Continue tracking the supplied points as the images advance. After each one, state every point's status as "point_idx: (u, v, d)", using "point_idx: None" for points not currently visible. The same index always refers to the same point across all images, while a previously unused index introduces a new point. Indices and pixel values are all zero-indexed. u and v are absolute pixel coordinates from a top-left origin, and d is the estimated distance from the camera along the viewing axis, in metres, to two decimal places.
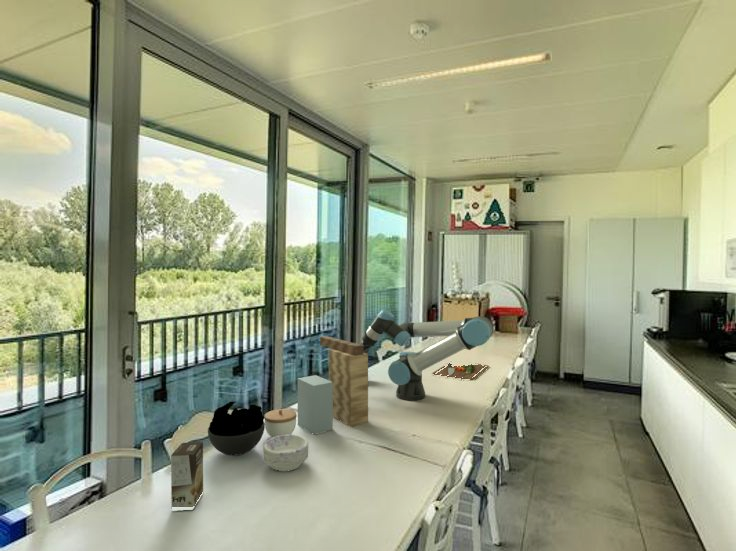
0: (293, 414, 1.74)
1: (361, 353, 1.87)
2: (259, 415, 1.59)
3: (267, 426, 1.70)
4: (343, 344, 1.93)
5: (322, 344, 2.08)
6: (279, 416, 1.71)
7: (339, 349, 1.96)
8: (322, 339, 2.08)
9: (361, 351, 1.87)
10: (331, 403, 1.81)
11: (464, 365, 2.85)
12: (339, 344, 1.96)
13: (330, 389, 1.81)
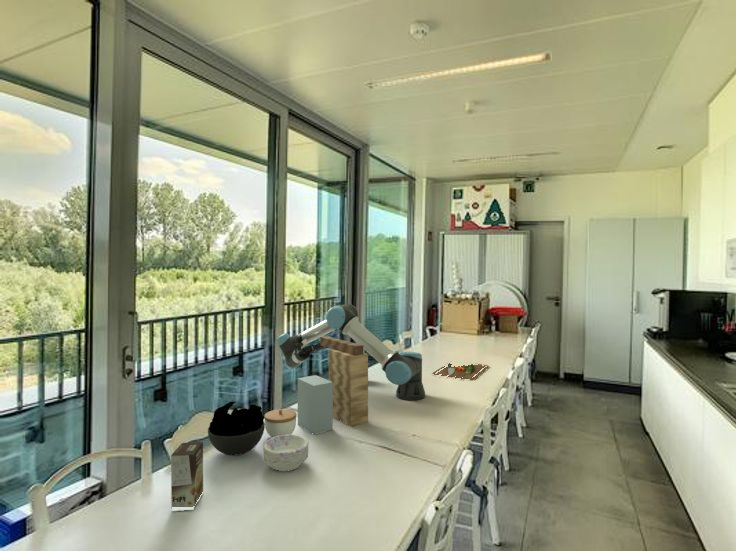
0: (293, 414, 1.74)
1: (361, 353, 1.87)
2: (259, 415, 1.59)
3: (267, 426, 1.70)
4: (343, 344, 1.93)
5: (322, 344, 2.08)
6: (279, 416, 1.71)
7: (339, 349, 1.96)
8: (322, 339, 2.08)
9: (361, 351, 1.87)
10: (331, 403, 1.81)
11: (464, 365, 2.85)
12: (339, 344, 1.96)
13: (330, 389, 1.81)
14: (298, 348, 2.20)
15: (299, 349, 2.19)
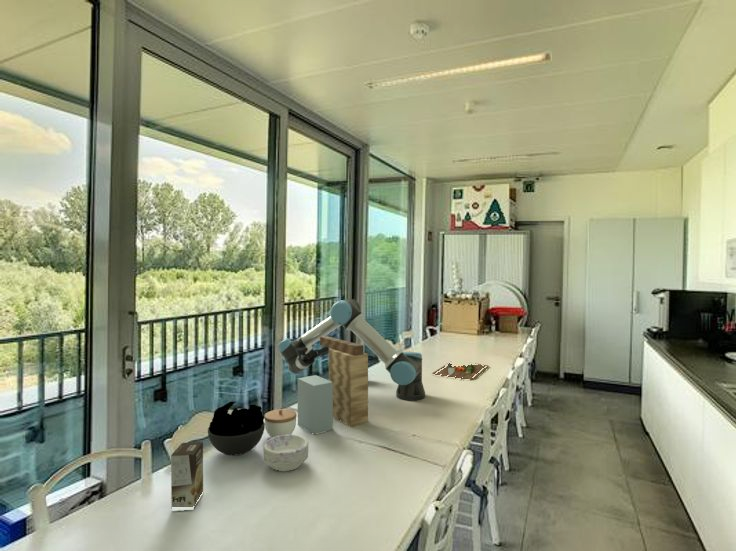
0: (293, 414, 1.74)
1: (361, 353, 1.87)
2: (259, 415, 1.59)
3: (267, 426, 1.70)
4: (343, 344, 1.93)
5: (322, 344, 2.08)
6: (279, 416, 1.71)
7: (339, 349, 1.96)
8: (322, 339, 2.08)
9: (361, 351, 1.87)
10: (331, 403, 1.81)
11: (464, 365, 2.85)
12: (339, 344, 1.96)
13: (330, 389, 1.81)
14: (302, 353, 2.10)
15: (303, 354, 2.09)
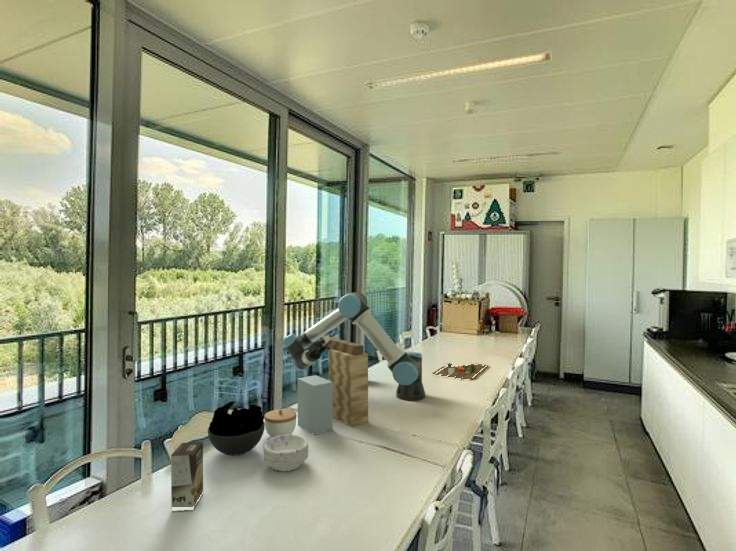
0: (293, 414, 1.74)
1: (361, 353, 1.87)
2: (259, 415, 1.59)
3: (267, 426, 1.70)
4: (343, 344, 1.93)
5: None
6: (279, 416, 1.71)
7: (339, 349, 1.96)
8: (322, 339, 2.08)
9: (361, 351, 1.87)
10: (331, 403, 1.81)
11: (464, 365, 2.85)
12: (339, 344, 1.96)
13: (330, 389, 1.81)
14: (320, 345, 2.06)
15: (321, 346, 2.06)
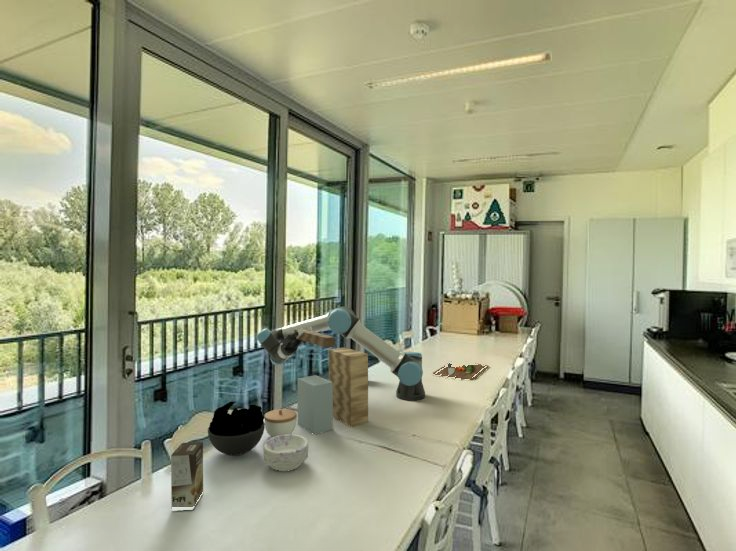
0: (293, 414, 1.74)
1: (332, 345, 1.80)
2: (259, 415, 1.59)
3: (267, 426, 1.70)
4: (315, 336, 1.86)
5: None
6: (279, 416, 1.71)
7: (311, 341, 1.89)
8: (296, 331, 2.01)
9: (332, 343, 1.80)
10: (331, 403, 1.81)
11: (464, 365, 2.85)
12: (311, 336, 1.89)
13: (330, 389, 1.81)
14: (294, 338, 1.99)
15: (295, 339, 1.99)
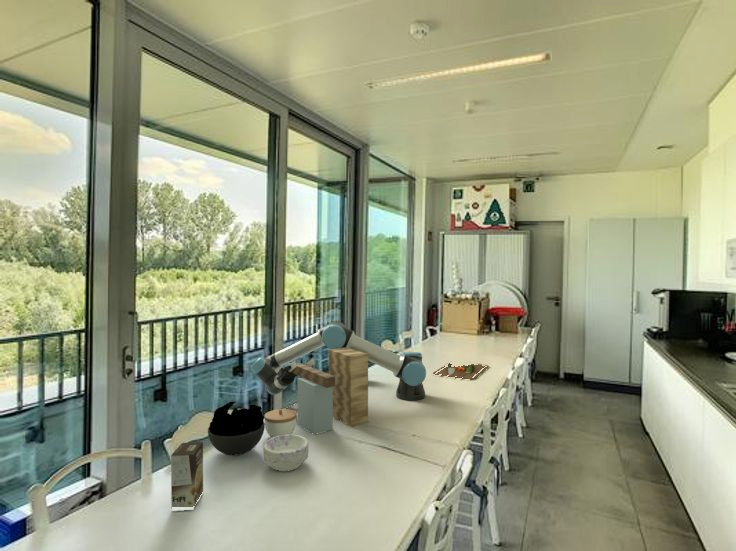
0: (293, 414, 1.74)
1: (332, 385, 1.74)
2: (259, 415, 1.59)
3: (267, 426, 1.70)
4: (314, 374, 1.80)
5: (294, 372, 1.95)
6: (279, 416, 1.71)
7: (310, 379, 1.83)
8: None
9: (332, 383, 1.74)
10: (331, 403, 1.81)
11: (464, 365, 2.85)
12: (310, 374, 1.83)
13: (330, 389, 1.81)
14: (286, 371, 1.92)
15: (287, 373, 1.92)
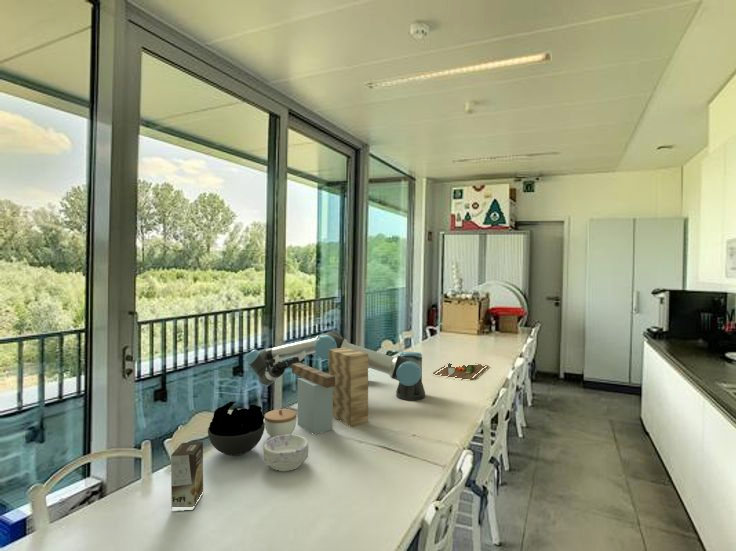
0: (293, 414, 1.74)
1: (332, 385, 1.74)
2: (259, 415, 1.59)
3: (267, 426, 1.70)
4: (314, 374, 1.80)
5: (294, 372, 1.95)
6: (279, 416, 1.71)
7: (310, 379, 1.83)
8: (294, 366, 1.95)
9: (332, 383, 1.74)
10: (331, 403, 1.81)
11: (464, 365, 2.85)
12: (310, 374, 1.83)
13: (330, 389, 1.81)
14: (270, 365, 2.02)
15: (271, 366, 2.02)
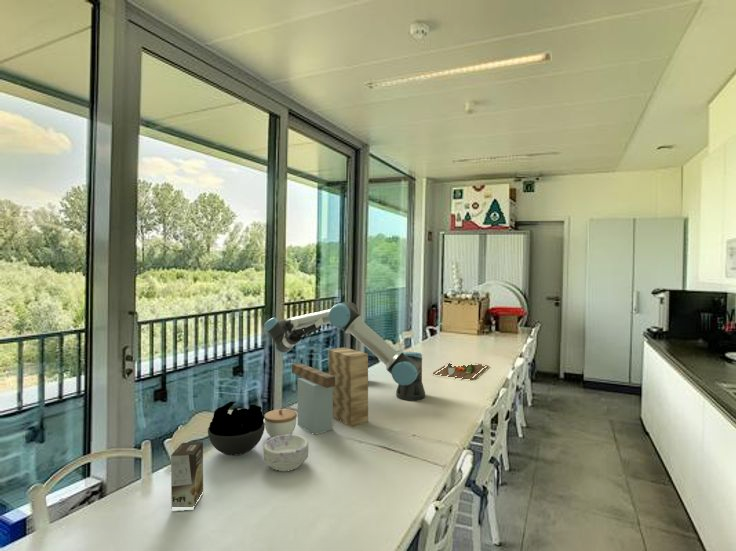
0: (293, 414, 1.74)
1: (332, 385, 1.74)
2: (259, 415, 1.59)
3: (267, 426, 1.70)
4: (314, 374, 1.80)
5: (294, 372, 1.95)
6: (279, 416, 1.71)
7: (310, 379, 1.83)
8: (294, 366, 1.95)
9: (332, 383, 1.74)
10: (331, 403, 1.81)
11: (464, 365, 2.85)
12: (310, 374, 1.83)
13: (330, 389, 1.81)
14: (288, 330, 2.09)
15: (289, 331, 2.08)
